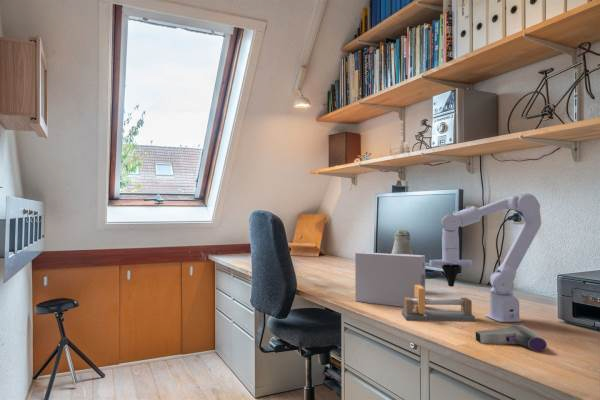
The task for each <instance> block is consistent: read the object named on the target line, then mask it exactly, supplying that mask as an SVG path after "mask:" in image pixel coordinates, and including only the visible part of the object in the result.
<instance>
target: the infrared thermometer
mask: <svg viewBox="0 0 600 400" xmlns="http://www.w3.org/2000/svg"><path fill="white" fill-rule="evenodd" d="M475 341H477V342H479V344H494V345H495V344H498V345H500V344H501V345H504V344H507V345H508V344H510V345H521V346H523V347H525V348H527V349H530V350H531V351H534V352H542V351H544V350H545V349H547V346H548V343H547V341H546V340H545V339H544V338H543V337H541V336H540V335H539V334H538V333H537V332H535V331H534V330H533V329H531V328H529V327H527V326H525V325H523V324H516V325H511V326H509V327H504V328H495V329H485V330H477V331H475Z"/></svg>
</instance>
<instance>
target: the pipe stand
mask: <svg viewBox="0 0 600 400" xmlns="http://www.w3.org/2000/svg"><path fill="white" fill-rule="evenodd" d="M413 304H414V305H418V299H411V298H410V297H404V307H403V309H402V310H401V315H402V316H403V318H404V319H405V320H406V321H433V322H434V321H443V322H444V321H446V322H448V321H449V322H451V321H452V322H455V321H457V322H475V321H476V320H475V319H476V318H475V315H474V314H472V313H473V312H472V311H473V309H472V308H473V307H472V306H473V305H472V304H473V302H472V300H471V299H470V298H467V297H460V299H459V298H425V306H427V305H429V306H430V305H431V306H432V305H433V306H434V305H436V306H437V305H439V306H451V305H452V306H460V310H426V309H425V314H419V313H418V312H417V311H416V310H415V309H414V308H413Z"/></svg>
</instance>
